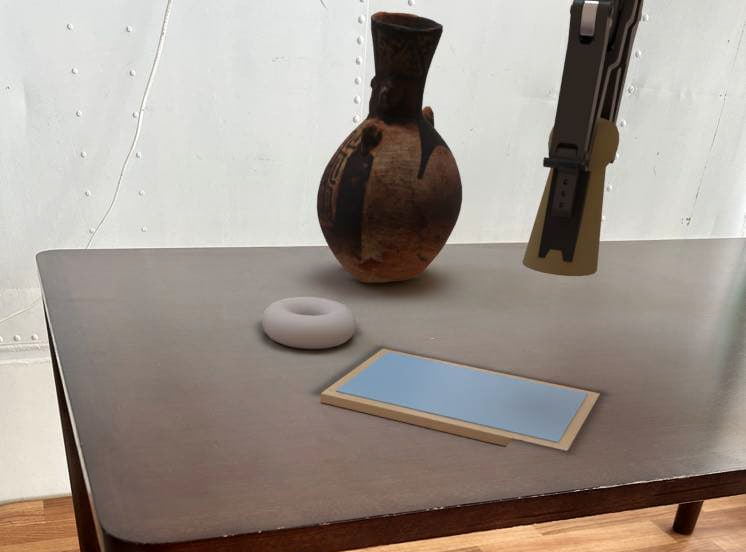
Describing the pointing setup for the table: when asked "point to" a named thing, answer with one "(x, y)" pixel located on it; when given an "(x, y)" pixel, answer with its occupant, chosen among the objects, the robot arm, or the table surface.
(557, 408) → the tablet
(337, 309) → the donut
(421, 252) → the ceramic vessel
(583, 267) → the olive pawn piece
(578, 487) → the table surface
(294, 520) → the table surface
